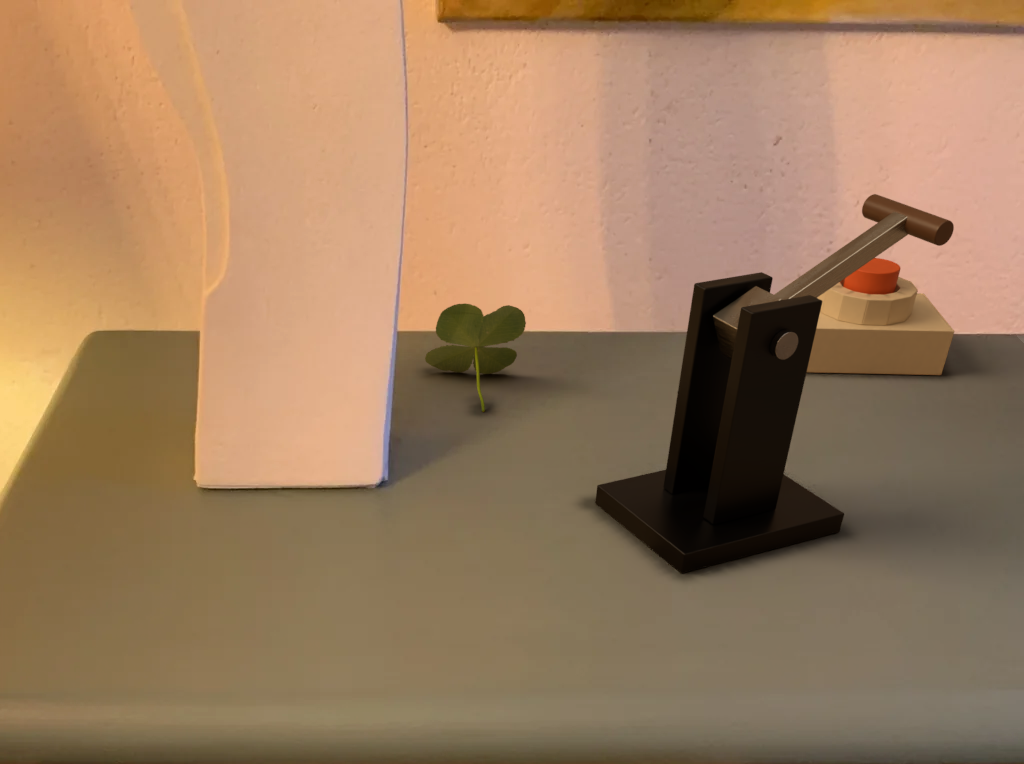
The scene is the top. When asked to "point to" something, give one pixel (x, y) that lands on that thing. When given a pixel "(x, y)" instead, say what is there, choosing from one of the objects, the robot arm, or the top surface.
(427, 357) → the seedling
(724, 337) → the lever handle
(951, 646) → the top surface
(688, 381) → the black lever stand
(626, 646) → the top surface
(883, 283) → the button
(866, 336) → the button block
